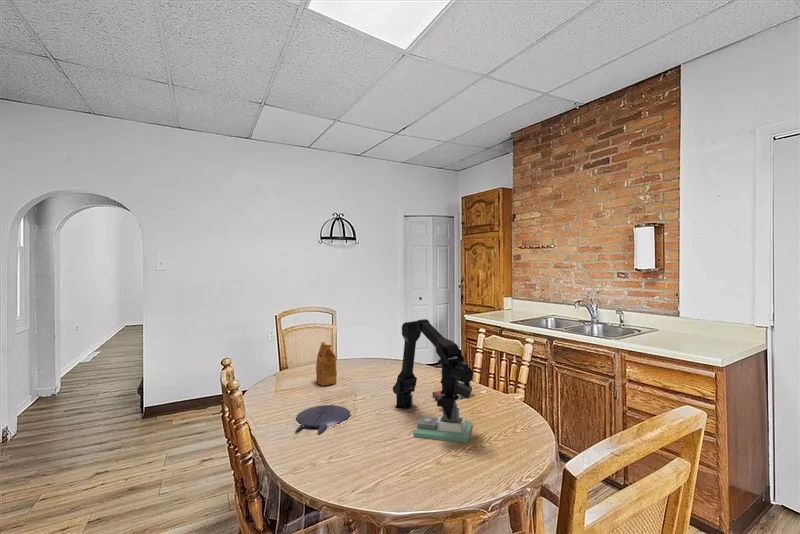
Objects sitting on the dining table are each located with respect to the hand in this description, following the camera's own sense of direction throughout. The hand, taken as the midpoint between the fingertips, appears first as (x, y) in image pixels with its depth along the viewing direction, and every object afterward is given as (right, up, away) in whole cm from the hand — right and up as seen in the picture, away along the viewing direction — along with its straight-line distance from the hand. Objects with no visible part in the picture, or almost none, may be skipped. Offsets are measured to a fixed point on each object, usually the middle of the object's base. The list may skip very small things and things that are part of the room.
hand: (450, 417), depth 145 cm
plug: (0, -3, 0) cm, 3 cm away
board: (-2, -6, +1) cm, 6 cm away
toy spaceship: (-52, -7, +15) cm, 55 cm away
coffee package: (-60, -7, +63) cm, 87 cm away
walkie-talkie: (+6, -6, +37) cm, 38 cm away
